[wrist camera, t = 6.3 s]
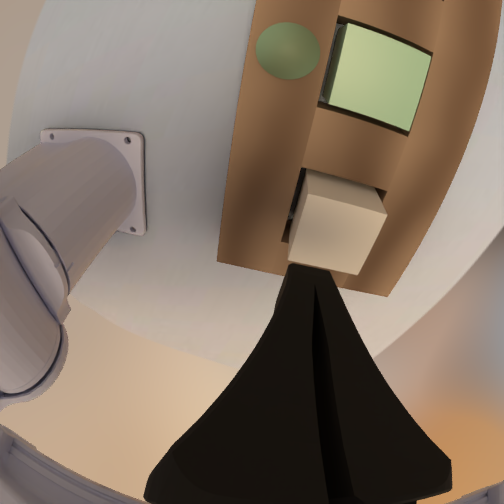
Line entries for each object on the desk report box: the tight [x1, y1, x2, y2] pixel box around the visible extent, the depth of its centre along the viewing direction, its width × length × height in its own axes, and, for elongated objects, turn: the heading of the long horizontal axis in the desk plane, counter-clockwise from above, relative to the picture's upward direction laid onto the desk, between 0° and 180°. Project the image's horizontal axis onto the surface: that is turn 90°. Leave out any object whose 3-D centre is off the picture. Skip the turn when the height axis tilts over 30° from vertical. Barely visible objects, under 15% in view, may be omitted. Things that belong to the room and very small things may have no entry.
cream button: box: [288, 169, 387, 275], centre depth 15 cm, size 4×4×3 cm
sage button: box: [323, 23, 431, 131], centre depth 11 cm, size 4×4×3 cm
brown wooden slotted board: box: [217, 0, 502, 297], centre depth 11 cm, size 12×26×3 cm, turn 171°
